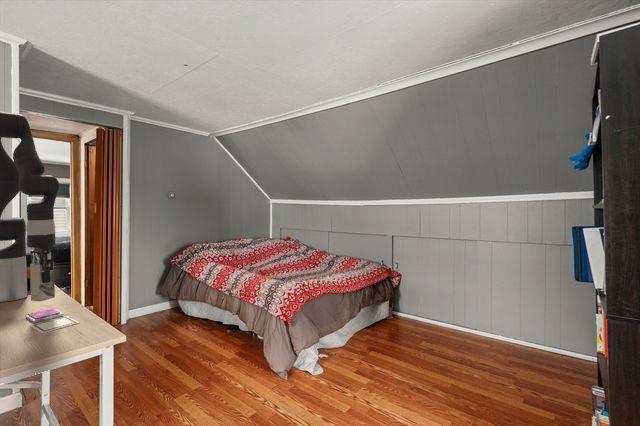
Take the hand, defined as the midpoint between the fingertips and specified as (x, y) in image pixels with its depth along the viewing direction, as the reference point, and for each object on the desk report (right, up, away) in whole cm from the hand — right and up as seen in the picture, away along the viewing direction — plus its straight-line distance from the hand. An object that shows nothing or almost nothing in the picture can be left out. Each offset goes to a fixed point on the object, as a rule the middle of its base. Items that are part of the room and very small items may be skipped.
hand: (42, 281), depth 113 cm
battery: (-33, -11, +34) cm, 49 cm away
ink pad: (0, -13, +1) cm, 13 cm away
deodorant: (-40, -11, +39) cm, 56 cm away
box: (0, -7, 0) cm, 7 cm away
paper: (+9, -13, -6) cm, 17 cm away
